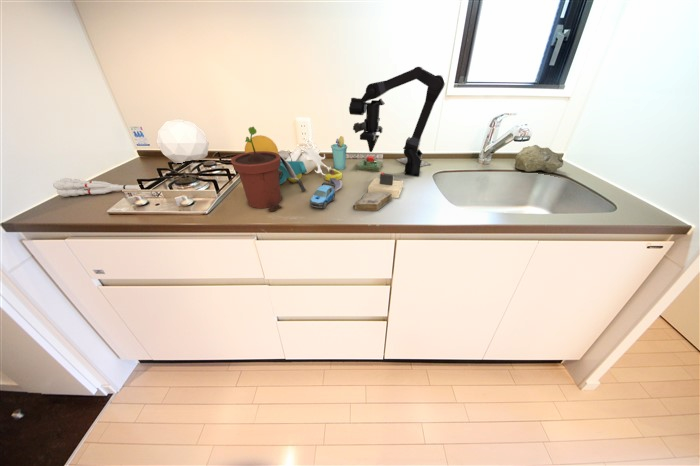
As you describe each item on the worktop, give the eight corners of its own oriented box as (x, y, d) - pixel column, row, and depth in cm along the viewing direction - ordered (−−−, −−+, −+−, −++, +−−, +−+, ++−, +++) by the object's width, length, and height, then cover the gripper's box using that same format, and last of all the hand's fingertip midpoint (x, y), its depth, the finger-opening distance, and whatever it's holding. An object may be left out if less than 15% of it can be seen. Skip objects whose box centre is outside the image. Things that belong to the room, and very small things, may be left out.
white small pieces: (310, 130, 121) (314, 135, 122) (303, 136, 124) (307, 141, 126) (289, 159, 102) (294, 164, 103) (280, 165, 105) (285, 170, 107)
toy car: (307, 207, 86) (307, 192, 83) (322, 195, 96) (322, 181, 93) (323, 211, 84) (323, 196, 81) (336, 198, 94) (336, 184, 91)
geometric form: (147, 153, 122) (141, 125, 102) (182, 130, 133) (182, 101, 113) (184, 182, 129) (186, 162, 109) (214, 158, 140) (221, 136, 119)
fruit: (304, 183, 105) (302, 154, 99) (289, 186, 102) (285, 157, 96) (299, 177, 110) (295, 150, 103) (284, 180, 107) (279, 153, 101)
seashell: (290, 176, 110) (275, 180, 115) (307, 161, 120) (293, 166, 126) (277, 154, 105) (262, 160, 111) (296, 141, 115) (282, 147, 121)
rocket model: (51, 173, 90) (144, 175, 95) (69, 182, 97) (155, 183, 102) (46, 192, 88) (142, 192, 93) (65, 200, 95) (153, 200, 100)
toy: (251, 173, 112) (282, 159, 113) (234, 141, 108) (265, 127, 109) (258, 173, 126) (285, 161, 127) (243, 145, 122) (270, 133, 123)
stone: (371, 215, 83) (371, 207, 81) (351, 208, 87) (351, 200, 85) (392, 199, 93) (393, 192, 91) (373, 194, 97) (374, 187, 95)
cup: (345, 173, 115) (345, 140, 107) (329, 173, 116) (327, 139, 108) (348, 164, 127) (348, 133, 119) (333, 163, 128) (332, 132, 119)
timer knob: (392, 184, 98) (393, 173, 95) (392, 185, 97) (393, 175, 94) (380, 182, 99) (381, 172, 97) (379, 183, 98) (380, 173, 95)
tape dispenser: (271, 183, 101) (262, 164, 97) (306, 170, 102) (298, 151, 98) (271, 187, 95) (262, 168, 91) (308, 174, 96) (300, 154, 92)
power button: (374, 159, 122) (374, 156, 121) (372, 161, 119) (373, 158, 118) (367, 159, 122) (367, 155, 121) (365, 161, 120) (365, 157, 119)
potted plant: (252, 190, 99) (236, 122, 85) (306, 190, 99) (299, 123, 85) (235, 211, 84) (212, 134, 70) (298, 211, 84) (288, 135, 71)
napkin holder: (412, 159, 133) (414, 145, 129) (421, 163, 128) (423, 148, 124) (407, 160, 132) (409, 146, 128) (415, 164, 127) (418, 149, 123)
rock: (577, 152, 107) (566, 157, 120) (533, 132, 113) (527, 140, 127) (551, 183, 113) (543, 185, 126) (510, 163, 119) (507, 167, 132)
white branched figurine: (303, 130, 112) (291, 140, 116) (295, 150, 99) (281, 161, 103) (332, 162, 123) (320, 170, 127) (328, 184, 109) (315, 193, 113)
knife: (346, 194, 97) (340, 172, 117) (346, 188, 95) (340, 166, 116) (326, 195, 96) (324, 172, 116) (326, 189, 94) (323, 167, 115)
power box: (382, 166, 125) (383, 158, 122) (378, 171, 118) (379, 163, 115) (361, 163, 128) (362, 155, 125) (356, 169, 120) (356, 161, 118)
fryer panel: (402, 188, 102) (403, 181, 100) (398, 198, 94) (399, 190, 92) (373, 184, 105) (374, 177, 103) (367, 194, 97) (368, 186, 95)
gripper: (361, 112, 119) (360, 145, 128) (348, 118, 104) (348, 155, 113) (383, 113, 116) (381, 147, 125) (374, 119, 101) (372, 157, 110)
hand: (370, 151), depth 118 cm, fingers closed
